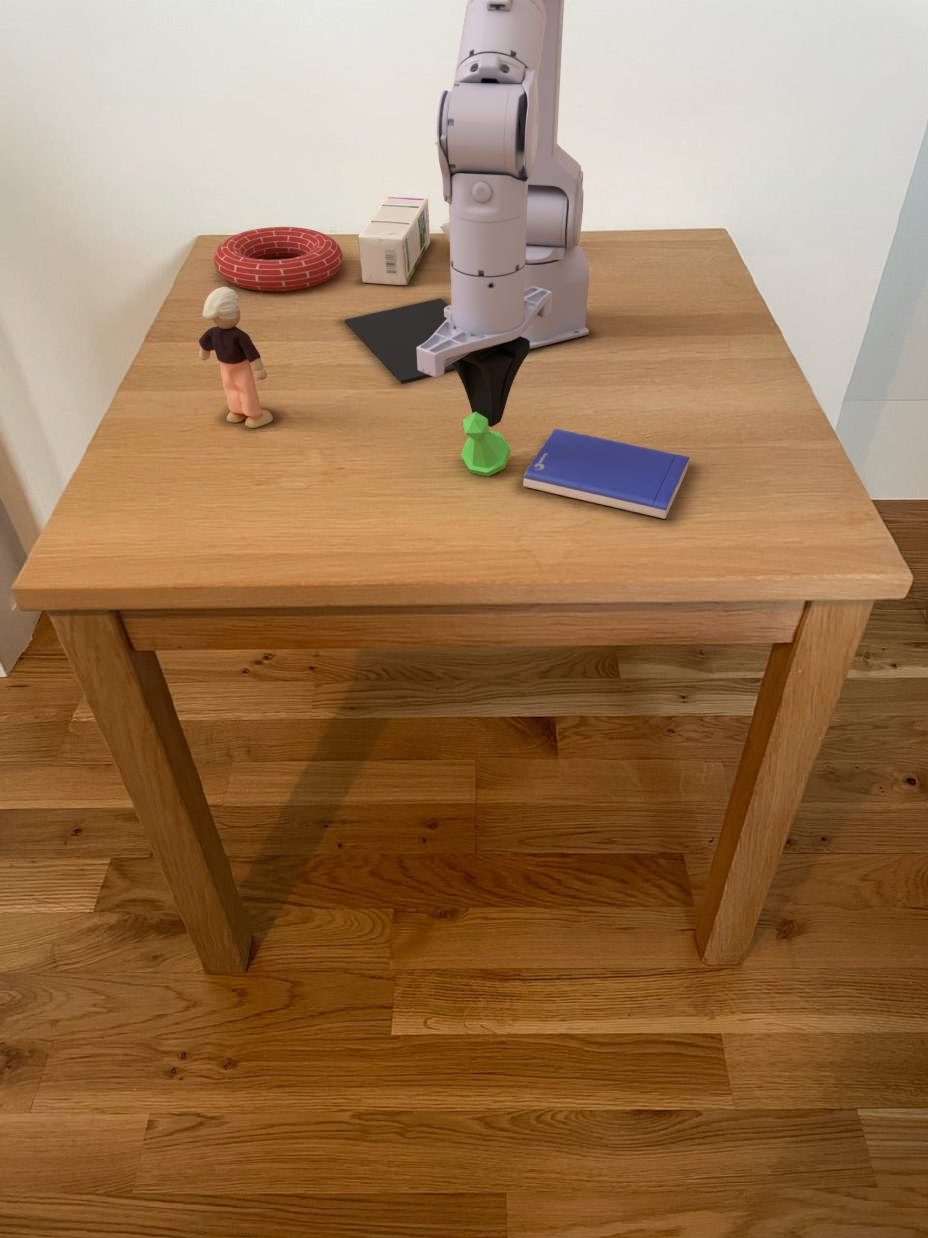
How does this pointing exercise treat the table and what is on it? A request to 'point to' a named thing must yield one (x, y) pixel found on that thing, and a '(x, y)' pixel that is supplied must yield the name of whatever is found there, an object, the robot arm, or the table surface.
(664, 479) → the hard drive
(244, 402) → the grandmother figurine
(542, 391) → the table surface
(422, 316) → the mat
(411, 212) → the syrup box
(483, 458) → the game piece
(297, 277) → the torus
